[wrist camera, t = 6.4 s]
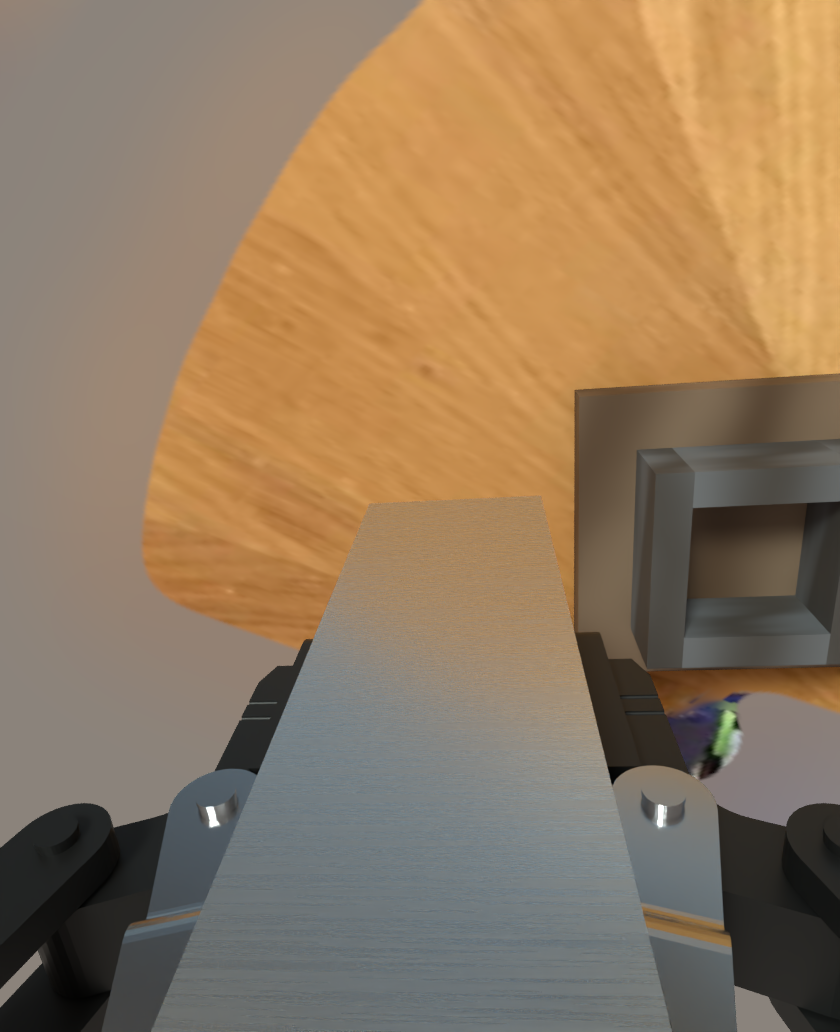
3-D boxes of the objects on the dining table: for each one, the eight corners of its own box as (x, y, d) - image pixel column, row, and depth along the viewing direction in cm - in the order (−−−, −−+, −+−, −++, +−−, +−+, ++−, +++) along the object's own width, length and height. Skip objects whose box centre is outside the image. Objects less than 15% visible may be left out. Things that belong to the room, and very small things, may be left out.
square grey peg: (541, 495, 16) (681, 1071, 5) (543, 645, 18) (656, 1351, 6) (369, 503, 16) (142, 1053, 5) (385, 649, 18) (233, 1322, 7)
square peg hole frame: (904, 369, 30) (982, 393, 25) (856, 649, 35) (914, 711, 31) (574, 390, 31) (591, 415, 27) (574, 656, 36) (588, 716, 32)
